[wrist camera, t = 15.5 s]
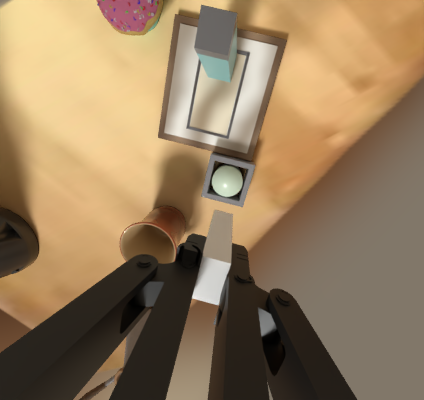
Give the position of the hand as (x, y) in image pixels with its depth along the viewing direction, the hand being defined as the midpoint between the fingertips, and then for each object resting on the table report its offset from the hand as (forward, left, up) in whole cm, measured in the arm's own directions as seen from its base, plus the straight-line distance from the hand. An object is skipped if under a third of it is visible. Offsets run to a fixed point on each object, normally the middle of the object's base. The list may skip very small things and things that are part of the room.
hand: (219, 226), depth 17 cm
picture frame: (-5, +12, -20) cm, 24 cm away
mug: (-8, -13, -21) cm, 26 cm away
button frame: (0, 0, -20) cm, 20 cm away
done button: (0, 0, -20) cm, 20 cm away
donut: (-18, +20, -21) cm, 34 cm away
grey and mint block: (-5, +16, -19) cm, 25 cm away
